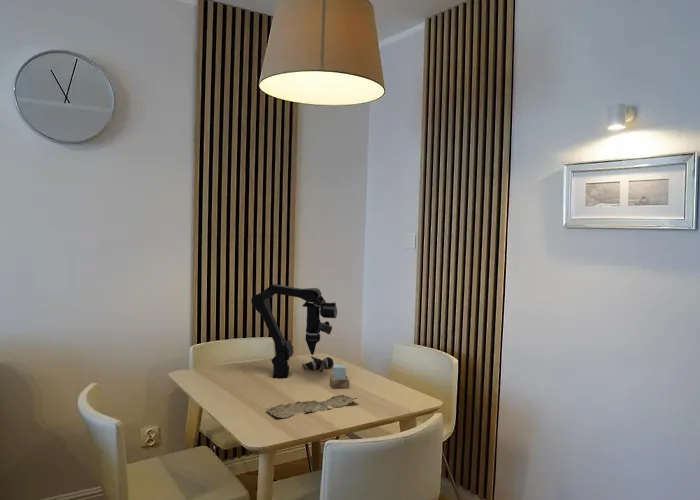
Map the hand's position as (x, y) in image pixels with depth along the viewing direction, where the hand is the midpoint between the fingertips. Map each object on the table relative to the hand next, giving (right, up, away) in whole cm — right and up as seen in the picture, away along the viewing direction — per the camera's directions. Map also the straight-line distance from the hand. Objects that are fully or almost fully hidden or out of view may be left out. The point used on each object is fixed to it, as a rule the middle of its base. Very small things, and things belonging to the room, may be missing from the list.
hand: (312, 352), depth 231 cm
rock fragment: (+3, -14, -36) cm, 39 cm away
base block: (+12, -13, -9) cm, 20 cm away
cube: (+12, -9, -9) cm, 18 cm away
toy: (+1, -12, +17) cm, 21 cm away
